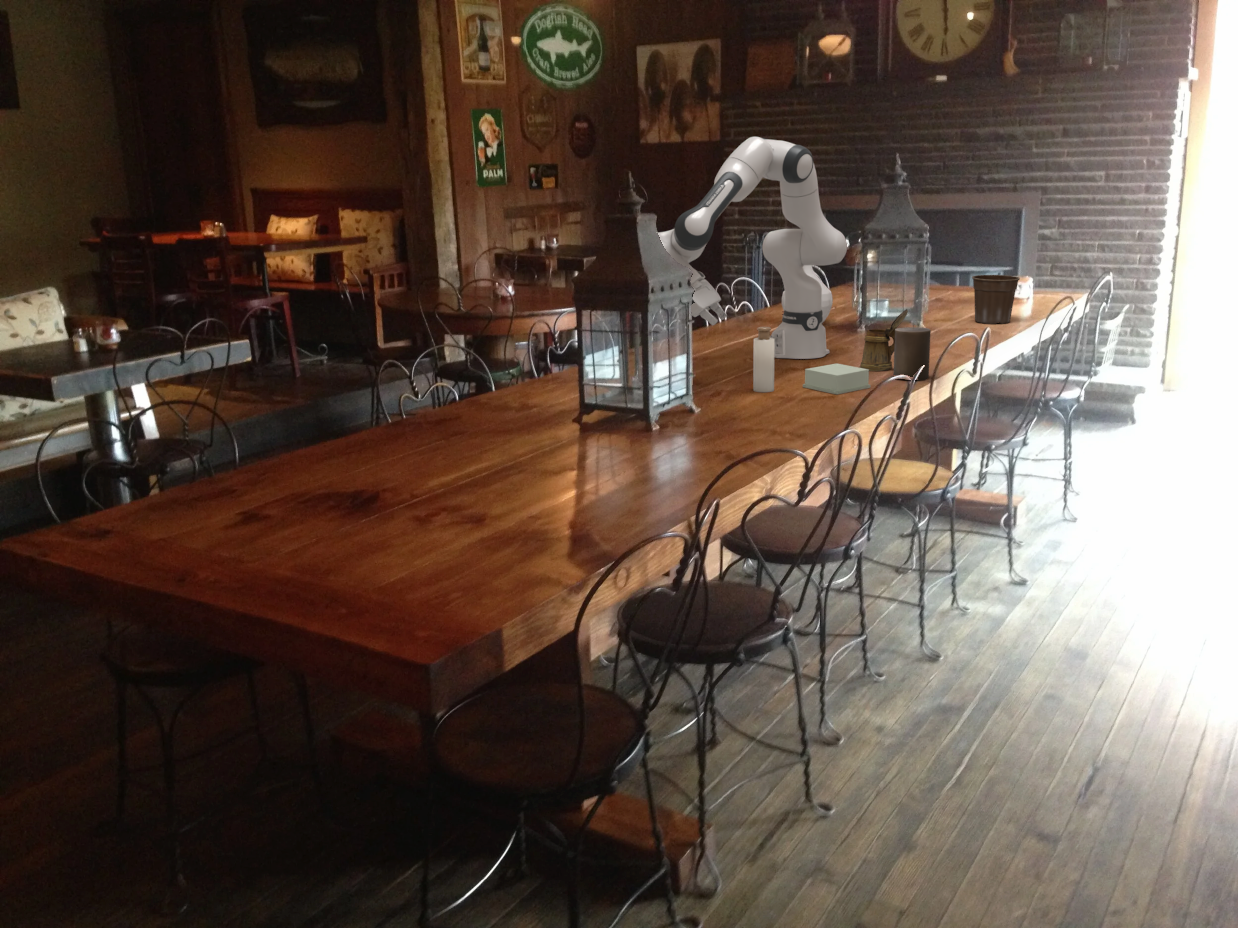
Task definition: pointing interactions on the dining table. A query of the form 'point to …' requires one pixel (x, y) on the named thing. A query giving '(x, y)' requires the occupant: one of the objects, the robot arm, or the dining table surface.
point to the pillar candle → (912, 351)
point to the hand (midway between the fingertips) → (720, 320)
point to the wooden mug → (880, 346)
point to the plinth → (836, 378)
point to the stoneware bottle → (763, 361)
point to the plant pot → (994, 298)
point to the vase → (826, 293)
